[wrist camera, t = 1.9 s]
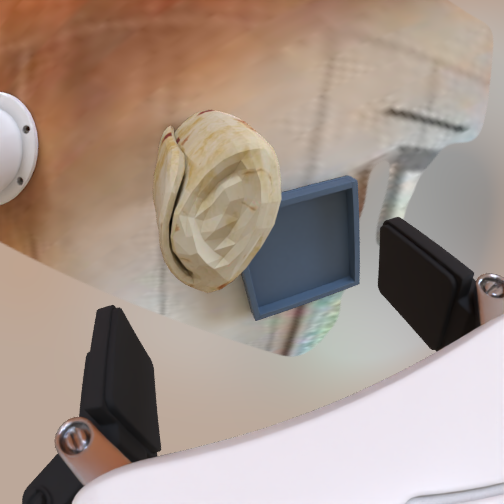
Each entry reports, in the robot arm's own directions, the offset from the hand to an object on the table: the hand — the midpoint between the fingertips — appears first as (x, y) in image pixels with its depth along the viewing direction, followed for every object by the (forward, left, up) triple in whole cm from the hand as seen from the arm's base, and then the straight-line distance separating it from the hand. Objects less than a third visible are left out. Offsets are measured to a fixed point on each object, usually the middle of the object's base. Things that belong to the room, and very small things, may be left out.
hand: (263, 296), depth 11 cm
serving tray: (+10, -15, -25) cm, 31 cm away
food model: (0, 0, -25) cm, 25 cm away
